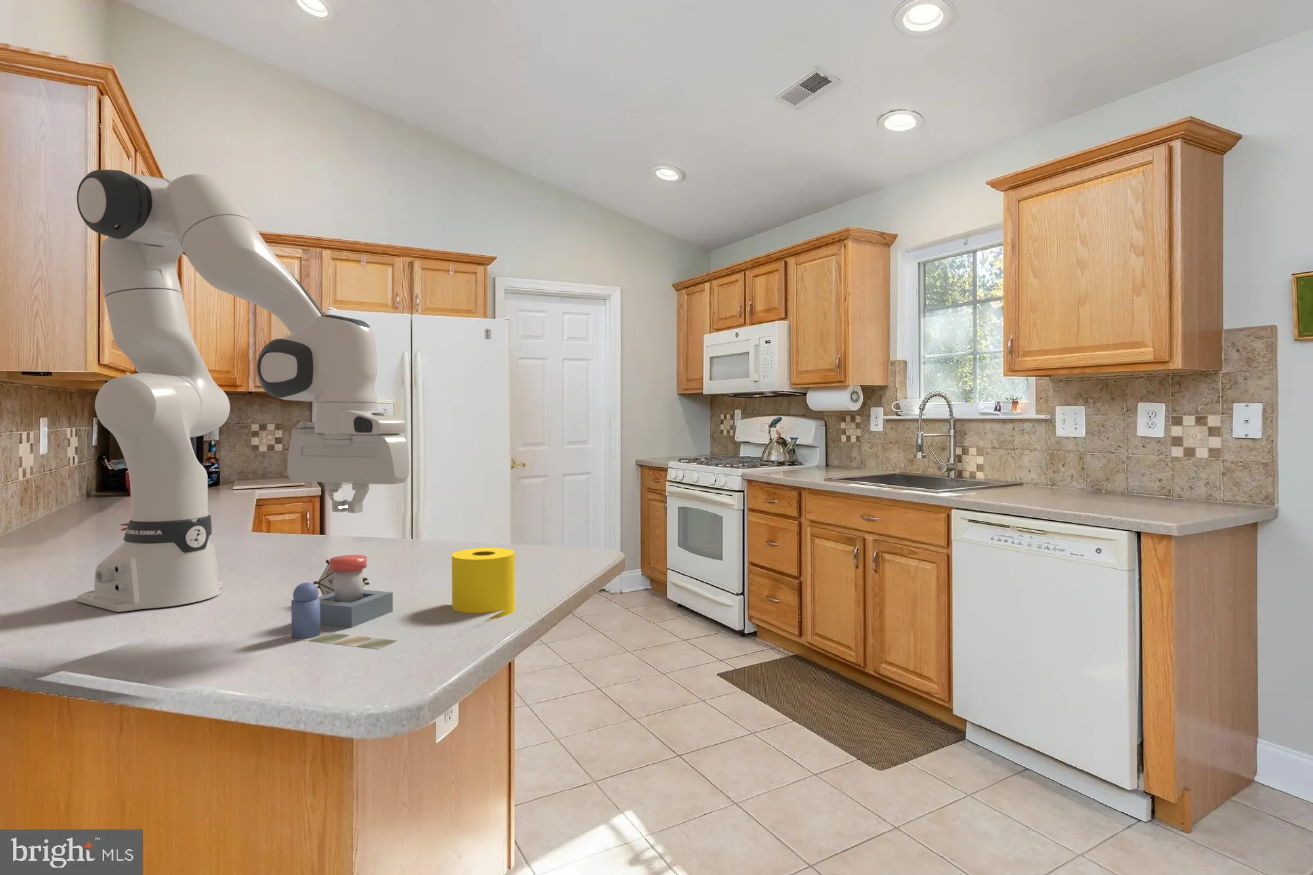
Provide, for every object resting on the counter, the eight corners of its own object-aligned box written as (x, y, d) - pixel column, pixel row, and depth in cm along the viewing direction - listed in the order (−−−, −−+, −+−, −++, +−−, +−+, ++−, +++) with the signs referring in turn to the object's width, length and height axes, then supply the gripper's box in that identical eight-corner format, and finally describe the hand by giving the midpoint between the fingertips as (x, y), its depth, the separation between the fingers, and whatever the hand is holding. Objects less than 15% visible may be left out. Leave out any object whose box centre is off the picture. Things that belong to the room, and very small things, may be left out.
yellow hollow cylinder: (527, 610, 115) (526, 553, 115) (472, 623, 108) (471, 562, 108) (494, 599, 122) (493, 545, 122) (441, 610, 115) (440, 553, 115)
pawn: (285, 637, 98) (285, 584, 97) (305, 630, 101) (305, 578, 101) (306, 640, 97) (305, 586, 96) (326, 632, 100) (325, 580, 100)
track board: (271, 649, 96) (271, 642, 96) (316, 632, 103) (316, 625, 103) (368, 662, 91) (368, 654, 91) (408, 643, 98) (408, 636, 98)
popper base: (302, 628, 105) (302, 601, 105) (346, 612, 114) (346, 588, 114) (352, 634, 103) (351, 606, 102) (392, 617, 111) (392, 592, 111)
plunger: (322, 606, 106) (321, 560, 106) (347, 598, 111) (346, 554, 111) (350, 609, 105) (349, 562, 105) (374, 600, 110) (373, 556, 110)
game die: (346, 630, 116) (342, 592, 111) (304, 610, 118) (298, 571, 112) (381, 594, 123) (379, 556, 117) (342, 575, 125) (337, 536, 119)
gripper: (276, 421, 108) (277, 511, 108) (387, 422, 101) (388, 517, 102) (308, 421, 114) (309, 507, 114) (415, 421, 107) (416, 512, 108)
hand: (347, 512), depth 108 cm, fingers closed
